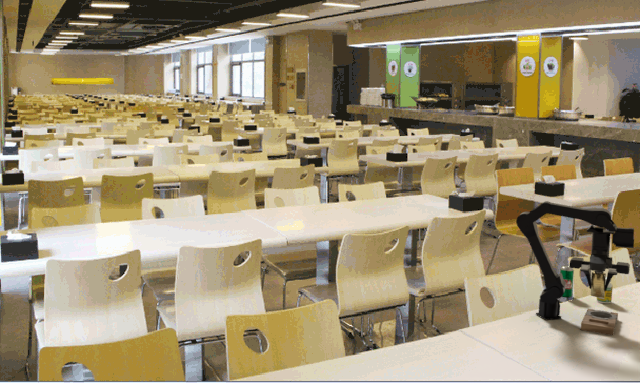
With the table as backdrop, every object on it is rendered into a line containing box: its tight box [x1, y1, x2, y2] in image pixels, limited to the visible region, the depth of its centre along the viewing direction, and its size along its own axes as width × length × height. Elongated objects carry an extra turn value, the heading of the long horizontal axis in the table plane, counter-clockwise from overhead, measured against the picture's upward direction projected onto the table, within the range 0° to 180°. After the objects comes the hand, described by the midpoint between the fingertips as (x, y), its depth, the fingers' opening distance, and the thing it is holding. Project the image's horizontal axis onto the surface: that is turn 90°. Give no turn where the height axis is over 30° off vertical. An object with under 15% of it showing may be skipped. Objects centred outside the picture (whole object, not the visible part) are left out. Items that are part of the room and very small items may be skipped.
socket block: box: [580, 308, 619, 336], centre depth 223 cm, size 18×10×2 cm, turn 151°
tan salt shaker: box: [590, 270, 607, 298], centre depth 223 cm, size 4×4×9 cm
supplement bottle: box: [596, 276, 613, 304], centre depth 249 cm, size 5×5×10 cm
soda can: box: [559, 265, 575, 299], centre depth 256 cm, size 5×5×12 cm
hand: (597, 289), depth 223 cm, fingers closed on tan salt shaker, 4 cm apart
